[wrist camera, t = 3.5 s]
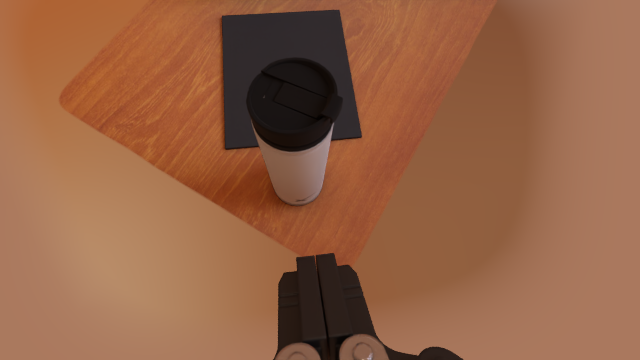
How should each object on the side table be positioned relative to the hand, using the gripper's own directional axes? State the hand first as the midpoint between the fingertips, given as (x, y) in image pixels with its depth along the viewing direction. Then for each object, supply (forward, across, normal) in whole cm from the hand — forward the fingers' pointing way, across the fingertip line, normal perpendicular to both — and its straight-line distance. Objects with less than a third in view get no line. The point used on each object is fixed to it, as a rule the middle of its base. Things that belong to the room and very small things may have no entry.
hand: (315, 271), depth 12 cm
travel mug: (+25, 0, +9) cm, 27 cm away
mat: (+37, 0, -3) cm, 37 cm away
